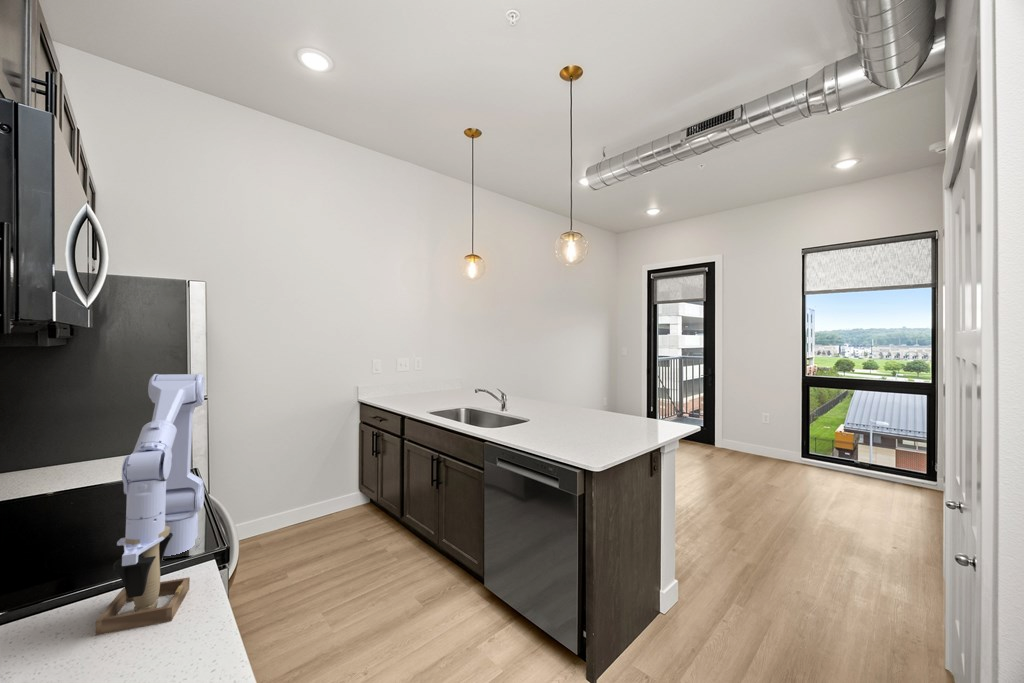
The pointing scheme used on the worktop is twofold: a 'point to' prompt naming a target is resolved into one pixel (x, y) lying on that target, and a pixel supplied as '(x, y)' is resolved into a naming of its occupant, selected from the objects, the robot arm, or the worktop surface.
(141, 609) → the handle
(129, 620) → the collar
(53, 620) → the worktop surface
